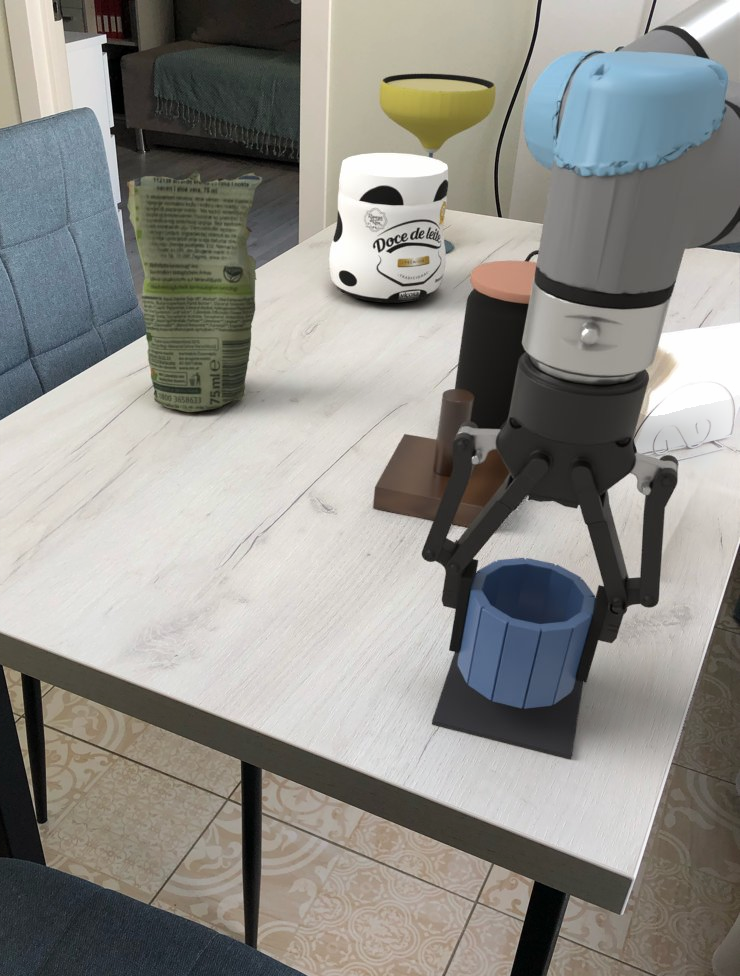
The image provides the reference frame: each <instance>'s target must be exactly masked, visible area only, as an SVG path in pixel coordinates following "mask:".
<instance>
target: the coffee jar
mask: <svg viewBox="0 0 740 976" xmlns="http://www.w3.org/2000/svg"><path fill="white" fill-rule="evenodd" d="M536 265H537V262H534V261H529V262H528V261H525V260H497V261H490V262H487V263H486V262H485V263H482V264H480V265H477V266H476V267H474V268H473V269H472V271H471V273H470V276H469V277H470V284H471V287H472V289H471V291H470V293H469V294H468V296H467V299H466V304H465V311H464V312H465V313H464V319H463V327H462V333H461V340H460V348H459V354H458V355H459V356H458V362H457V369H456V377H455V384H454V389H462V390H466V391H469V392H471V393H472V394H473V395H474V403H473V410H472V417H471V422H473V423H475V424H476V425H477V427H478V429H500V427H501V426H502V425H503V424H504V423H505V421H506V420H507V419H508V416H509V411H510V406H511V400H512V395H513V389H514V384H515V378H516V373H517V367H518V362H519V358H520V357H521V356H522V355H523V354H524V353H525V352H526V351H525V349H524V347H523V345H522V339H523V334H524V328H525V323H526V317H527V311H528V306H529V300H530V295H531V289H532V284H533V278H534V276H535V270H536ZM495 450H497V449H495Z"/></svg>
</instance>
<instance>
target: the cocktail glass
mask: <svg viewBox="0 0 740 976" xmlns="http://www.w3.org/2000/svg"><path fill="white" fill-rule="evenodd" d="M378 96H379V97H378V98H379V105H380V109H381V110H382V112H383V113H384V114H385V115H386V116H387V117H388V118H389V119H390V120H391V121H392V122H394V123H395V124H396V125H398V126H400V127H401V128H403V129H404V130H406V131H407V132H409V133H411V134H412V135H413V136H414V137H416V138H417V139H418V140H419V142H420V144H421V146H422V148H423V149H424V151H425V152H426V153H428V157H430V158H433V156H434V154H435V153H437V152H439V151H440V149H441V147H442V146H443V145H444V144H445V143H446V141H448V140H449V139H451V138H452V137H454V136H456V135H457V134H460V133H462V132H464V131H466V130H469V129H471V128H472V127H474V126H476V125H478V124H479V123H481V122H482V121H484V120H485V119H486V118H487V117H488V116H489V115H490V113H491V112H492V110H493V108H494V106H495V102H496V85H495V83H494V82H492V81H490V80H487V79H485V78H480V77H475V76H467V75H460V74H459V75H458V74H450V73H449V74H446V73H405V74H404V73H403V74H395V75H389V76H386V77H384V78H382V80H381V82H380V87H379V95H378ZM444 244H445V251H446V254H448V253H450V252H452V251H453V249H454V244H453V243H452V242H451V241H449V240H447V239H445V238H444Z"/></svg>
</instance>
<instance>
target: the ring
mask: <svg viewBox="0 0 740 976" xmlns="http://www.w3.org/2000/svg"><path fill="white" fill-rule="evenodd" d="M595 597H596V594H595V593H594V592H593V591H592V589H591V588H590V586H589V585H588V584H587V582H586V581H585V580H584V579H583V578H582V577H581V576H580V575H578V574H576V573H574V572H572V571H570V570H569V569H567V568H564V567H563V566H561V565H559V564H555V563H553V562H548V561H544V560H538V559H533V558H529V557H527V558H525V557H516V558H515V557H514V558H506V559H497V560H494V561H492V562H491V563H488V564H487V565H485V566H483V567H481V568H480V569H477V572H476V574H475V577H474V580H473V583H472V586H471V589H470V595H469V601H468V606H467V612H466V618H465V624H464V629H463V635H462V641H461V647H460V651H459V656H458V667H459V669H460V671H461V673H462V675H463V677H464V679H465V681H466V683H467V684H468V685H469V686H470V687H472V688H473V689H475V690H476V691H477V692H479V693H480V694H482V695H483V696H485V697H486V698H488V699H489V700H492V699H493V702H497V703H502V704H506V705H510V706H514V707H518V708H522V707H524V709H526V708H535V707H543V706H552V704H555V703H557V702H558V701H560V700H561V699H562V698H564V697H565V696H567V695H568V694H569V693H571V691H572V690H573V687H574V683H575V679H576V675H577V671H578V668H579V664H580V660H581V657H582V653H583V650H584V646H585V642H586V639H587V635H588V631H589V628H590V624H591V621H592V617H593V612H594V606H595V599H596V598H595Z"/></svg>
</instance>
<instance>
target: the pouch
mask: <svg viewBox="0 0 740 976" xmlns="http://www.w3.org/2000/svg"><path fill="white" fill-rule="evenodd" d="M255 174H256V173H255V172H250V173H245V174H243V175H241V176H238V177H237V178H235V179H232V180H228V179H225V178H220V177H219V178H217V179H215V180H213V181H206V182H202V181H201V175H200V173H199V171H198V170H197V169H196V170H194V172H193V173H192V174H191V175H190V176H189V177H187V179H186V178H185V179H174V178H172V177H167V176H164V175H163V176H162V175H161V176H154V175H145V176H142V177H139V178H133V180H129V181H127V182H126V185H127V188H128V200H127V202H126V207H127V210H128V211H129V221H130V223H131V225H132V227H133V228H134V229H133V230H134V235H135V238H136V245H137V248H138V249H137V250H138V254H139V257H140V261H141V265H142V269H143V272H144V280H143V284H142V295H141V299H142V309H143V319H144V322H145V323H144V324H145V332H146V333H145V339H146V341H147V351H146V352H147V362H148V364H149V369H150V379H151V381H152V386H153V390H154V391H153V395H154V399H153V400H154V402H155V403H157V404H159V405H161V406H163V407H165V408H166V409H171V410H177V411H181V412H187V413H195V412H202V411H207V410H214V409H218V408H220V407H222V406H224V405H226V404H229V403H231V402H232V401H235V400H239V401H243V399H244V396H245V390H246V378H247V372H248V366H249V361H250V354H251V353H250V352H251V346H252V328H253V327H252V326H253V325H252V323H253V321H254V317H255V314H256V313H255V312H256V280H257V274H256V265H257V260H255V258H254V257H253V255H249V254H248V244H247V241H248V240H249V238H250V234H251V233H252V232H253V229H251V228H250V227H248V225H247V224H248V223H247V222H248V214H249V212H250V210H251V208H252V206H253V203H254V198H255V193H256V192H255V191H256V189H257V187H258V186H259V185H260V184H261V183H262V181H263V177H262V176H258V175H255Z"/></svg>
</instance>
